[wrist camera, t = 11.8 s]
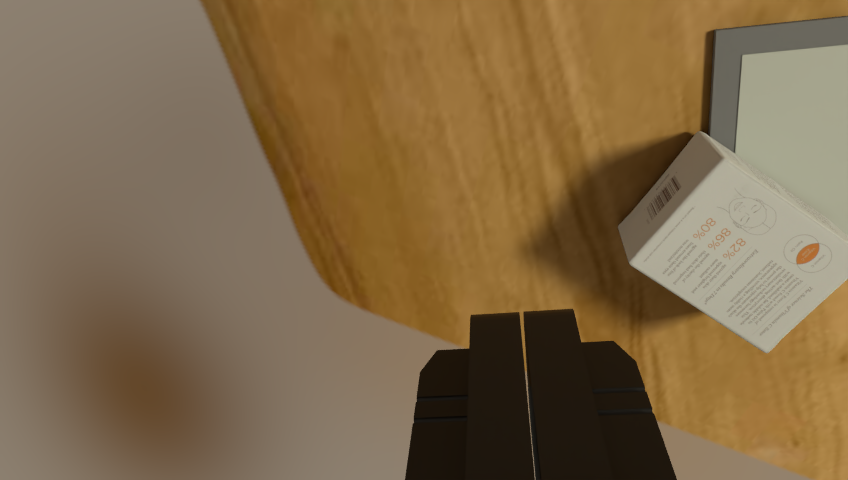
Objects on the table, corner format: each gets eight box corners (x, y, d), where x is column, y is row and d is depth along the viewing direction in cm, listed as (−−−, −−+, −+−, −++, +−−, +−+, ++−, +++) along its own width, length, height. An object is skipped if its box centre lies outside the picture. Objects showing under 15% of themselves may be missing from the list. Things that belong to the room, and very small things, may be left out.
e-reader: (714, 29, 39) (716, 30, 39) (941, 6, 38) (946, 7, 37) (700, 277, 46) (702, 280, 45) (893, 264, 44) (896, 268, 44)
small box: (613, 226, 44) (739, 310, 46) (626, 264, 39) (766, 358, 41) (700, 126, 41) (832, 220, 43) (726, 154, 36) (875, 260, 37)
